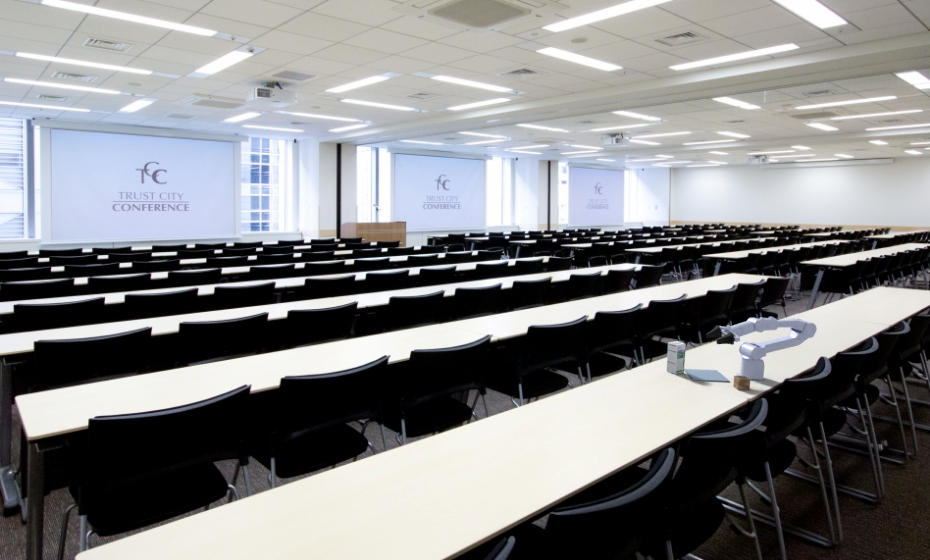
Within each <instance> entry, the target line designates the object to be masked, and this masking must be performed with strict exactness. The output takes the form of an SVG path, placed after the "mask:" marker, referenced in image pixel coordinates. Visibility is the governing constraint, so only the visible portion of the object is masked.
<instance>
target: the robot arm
mask: <svg viewBox="0 0 930 560" xmlns="http://www.w3.org/2000/svg"><path fill="white" fill-rule="evenodd" d="M778 328H790V329H789V333H788V335H785V336H782V337H778V338H774V339H770V340H766V341H763V342H762V341H761V342H747V341H745V342H742V343H741V344H740V345H739V348H738V352H739V353H740V357H741V360H740V361H741V362H740V371H739V372H736V375H737V376H746V377H748V378H749V379H750V380H762V381H763V380H765V379H764V376H765V375H764V374H765V362H764V360H763V358H764V357H766V356H767V354H768V353H772V352H773V353H774V352H776V351H780V350H786V349H790V348H794V347H796V346H799V345H801V344H803V343H804V342H805V341H807V340H808V339H811V338H814V337H815V335H816V333H817V329H818V328H817V325H816V324H815V323H813V322H809V321H807V320H802V319H800V318H788V319H787V318H786V319H777V318H775V317H774V316H768V317H761V316H760V317H759V318H756V317H749V318H748V319H747V320H746V321H743V322H740V323H737V324H734V325H729V324H727V325H726V326H721V325H715V327H713V328H712V330H710V331H708V332H707V333H706V334H705V335H706V338H707V339H711V338H717V337H718V338H717V339H715V341H716V345H731V346H733V345H735V343H738V342H741V338H740V337H743V336H747V335H749V334H752V333H755V332H757V333H763V332H765V331H777V330H778ZM722 334H723V336H722Z"/></svg>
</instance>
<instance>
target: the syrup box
mask: <svg viewBox="0 0 930 560" xmlns="http://www.w3.org/2000/svg"><path fill="white" fill-rule="evenodd" d="M686 349H687V348H686V343H685V342H682V341H679V340H677V341H670V342H669V341H668V343H667V353H666V354H667V355H666V356H667V357H666V372H667V373H670V372H671V373H670V374H673V373H674V374H673V375H679V373H680V374H684V373H685V372H684V369H685V361H686Z"/></svg>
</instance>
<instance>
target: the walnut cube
mask: <svg viewBox="0 0 930 560" xmlns="http://www.w3.org/2000/svg"><path fill="white" fill-rule="evenodd" d="M733 387H734V389H736V390H737V391H750V389H751V379H749V378H748V377H746V376H739V375H734V376H733Z"/></svg>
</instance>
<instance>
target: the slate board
mask: <svg viewBox="0 0 930 560" xmlns="http://www.w3.org/2000/svg"><path fill="white" fill-rule="evenodd" d="M684 371H685V372H686V373H687V374H686V373H685V372H684V373H685V374H686V375H688V376H689V378H691V380H692V381H694V382H695V381H696V382H716V383H717V382H719V383H721V382H722V383H730V382H731V381H730V379H728V378H727V377H726V376H725V375H723V374H722V373H721V372H720V371H719V370H717V369H696V368H684Z"/></svg>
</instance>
